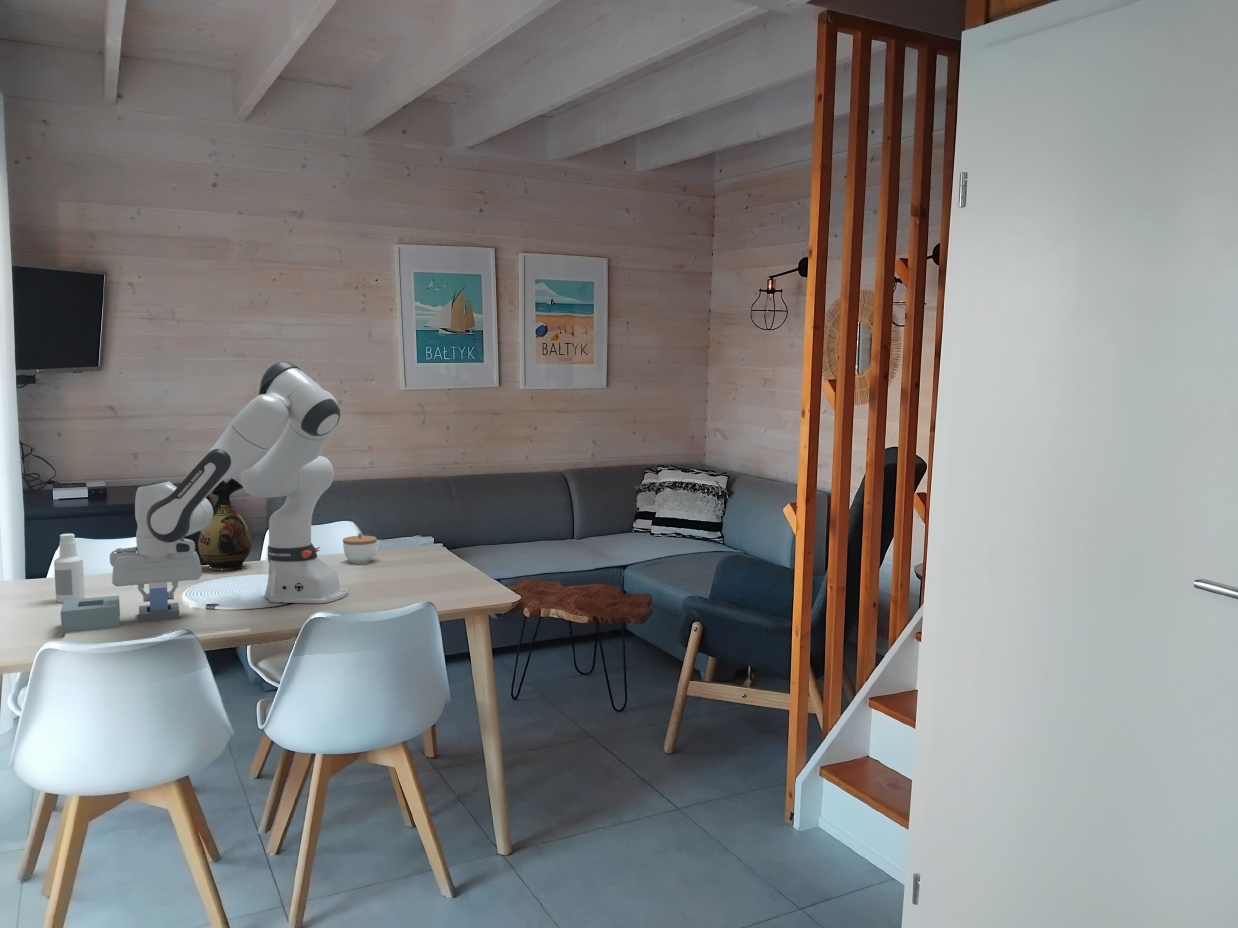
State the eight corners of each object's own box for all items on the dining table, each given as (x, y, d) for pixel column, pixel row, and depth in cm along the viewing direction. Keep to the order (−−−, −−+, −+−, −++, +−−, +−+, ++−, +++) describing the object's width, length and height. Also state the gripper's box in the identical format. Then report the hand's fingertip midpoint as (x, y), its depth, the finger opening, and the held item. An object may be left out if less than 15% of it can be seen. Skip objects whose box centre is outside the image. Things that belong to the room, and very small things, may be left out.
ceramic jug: (248, 561, 312) (245, 470, 309) (255, 570, 298) (252, 475, 295) (191, 566, 304) (188, 472, 301) (195, 575, 290) (192, 477, 287)
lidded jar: (345, 558, 317) (344, 531, 316) (378, 558, 319) (377, 530, 318) (341, 565, 307) (341, 536, 306) (376, 564, 309) (375, 536, 308)
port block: (120, 618, 241) (119, 595, 241) (119, 630, 231) (118, 606, 230) (65, 623, 236) (64, 600, 235) (61, 636, 225) (60, 611, 225)
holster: (178, 613, 246) (178, 602, 246) (179, 622, 238) (179, 610, 238) (139, 617, 242) (139, 605, 242) (139, 626, 234) (138, 614, 234)
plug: (168, 613, 243) (166, 578, 242) (168, 617, 239) (167, 581, 239) (150, 614, 241) (148, 579, 240) (150, 618, 238) (148, 583, 237)
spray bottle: (58, 598, 262) (55, 533, 260) (86, 596, 264) (83, 531, 262) (53, 603, 255) (50, 537, 253) (82, 601, 258) (79, 536, 256)
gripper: (108, 551, 231) (111, 607, 233) (201, 544, 240) (203, 598, 242) (109, 546, 237) (112, 601, 238) (199, 540, 246) (201, 593, 247)
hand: (158, 600), depth 240 cm, fingers closed on plug, 4 cm apart
